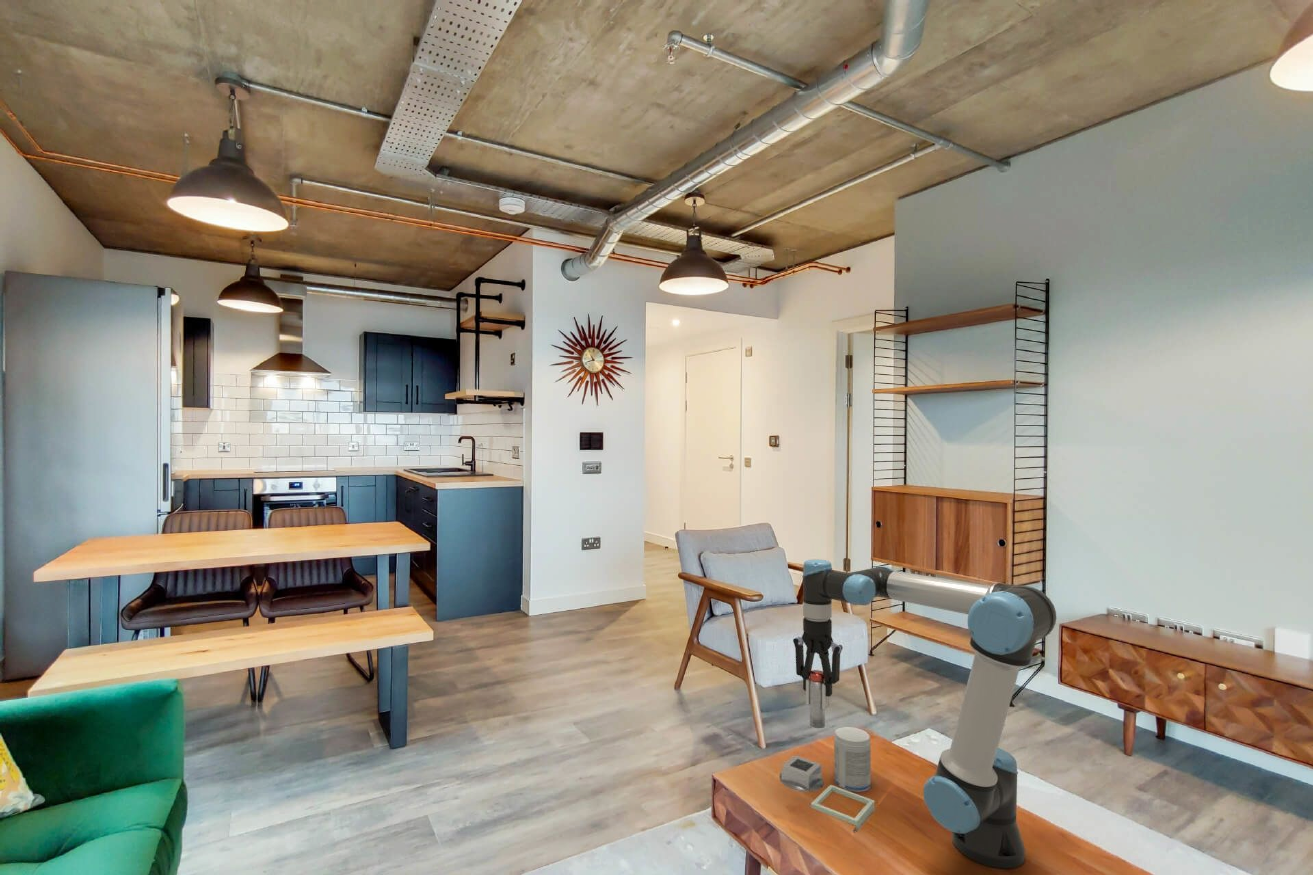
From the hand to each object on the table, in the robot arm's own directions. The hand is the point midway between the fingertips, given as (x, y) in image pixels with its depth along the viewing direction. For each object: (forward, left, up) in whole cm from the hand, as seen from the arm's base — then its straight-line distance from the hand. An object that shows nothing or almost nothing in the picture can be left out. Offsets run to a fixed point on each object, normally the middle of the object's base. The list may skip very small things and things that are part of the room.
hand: (817, 705), depth 173 cm
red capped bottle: (0, 0, -5) cm, 5 cm away
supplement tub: (-6, -10, -24) cm, 27 cm away
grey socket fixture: (+5, -2, -24) cm, 24 cm away
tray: (-9, +3, -24) cm, 26 cm away
